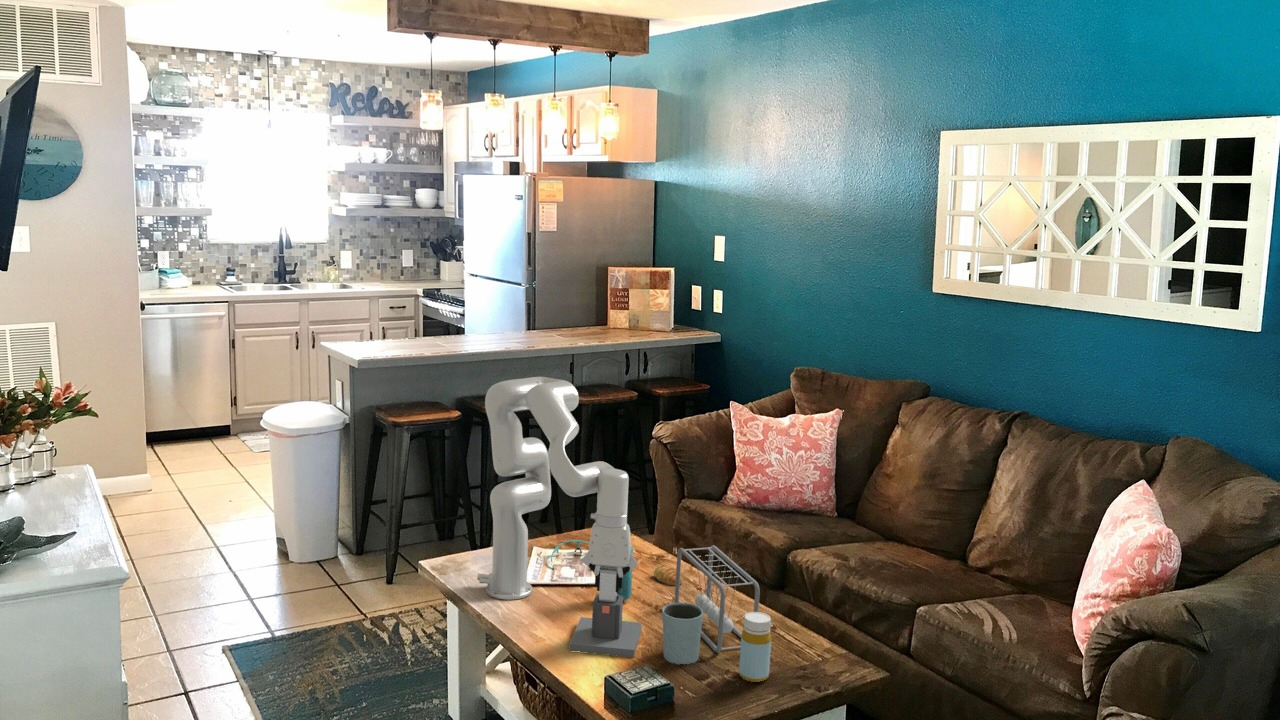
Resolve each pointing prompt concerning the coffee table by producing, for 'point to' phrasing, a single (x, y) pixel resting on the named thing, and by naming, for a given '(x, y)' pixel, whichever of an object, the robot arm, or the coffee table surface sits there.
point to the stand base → (606, 631)
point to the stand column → (608, 584)
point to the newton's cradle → (705, 600)
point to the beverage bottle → (626, 584)
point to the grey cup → (681, 632)
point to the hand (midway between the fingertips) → (608, 589)
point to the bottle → (755, 647)
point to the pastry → (666, 574)
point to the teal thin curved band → (568, 542)
